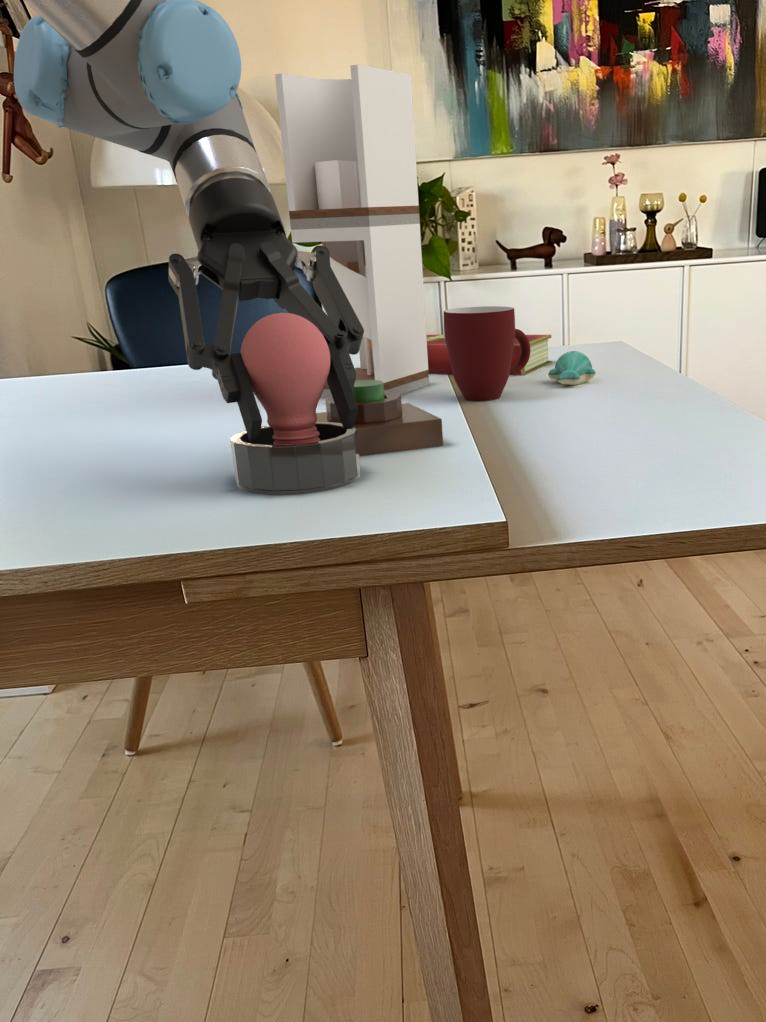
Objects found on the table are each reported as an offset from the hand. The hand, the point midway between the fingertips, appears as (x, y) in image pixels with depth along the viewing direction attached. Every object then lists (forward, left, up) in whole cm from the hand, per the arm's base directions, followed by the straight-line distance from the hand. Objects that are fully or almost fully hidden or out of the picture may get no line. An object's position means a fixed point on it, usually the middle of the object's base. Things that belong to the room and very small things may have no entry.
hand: (304, 424), depth 83 cm
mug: (+29, +32, -5) cm, 44 cm away
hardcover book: (+35, +57, -5) cm, 67 cm away
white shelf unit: (+18, +45, -5) cm, 49 cm away
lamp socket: (0, +3, -5) cm, 6 cm away
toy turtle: (+41, +35, -5) cm, 54 cm away
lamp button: (+9, +14, -1) cm, 17 cm away
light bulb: (0, +3, -4) cm, 5 cm away
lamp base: (+9, +14, -5) cm, 18 cm away
